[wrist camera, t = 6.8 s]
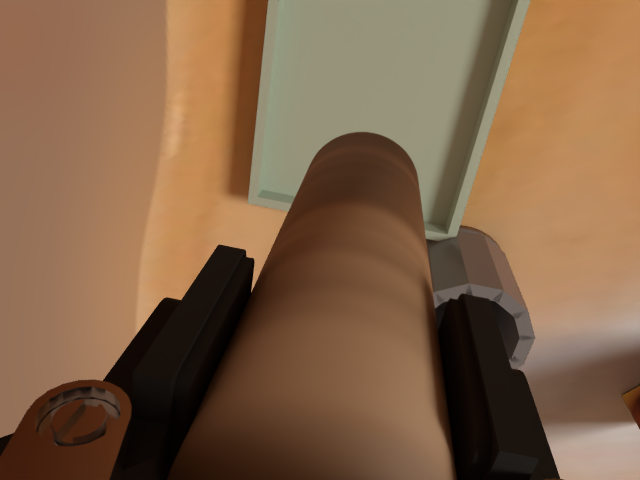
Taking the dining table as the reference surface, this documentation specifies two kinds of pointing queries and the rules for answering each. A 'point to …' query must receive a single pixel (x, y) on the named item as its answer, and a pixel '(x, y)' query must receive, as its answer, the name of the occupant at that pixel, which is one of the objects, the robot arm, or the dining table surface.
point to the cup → (481, 285)
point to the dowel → (334, 339)
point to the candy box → (633, 403)
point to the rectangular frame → (383, 90)
